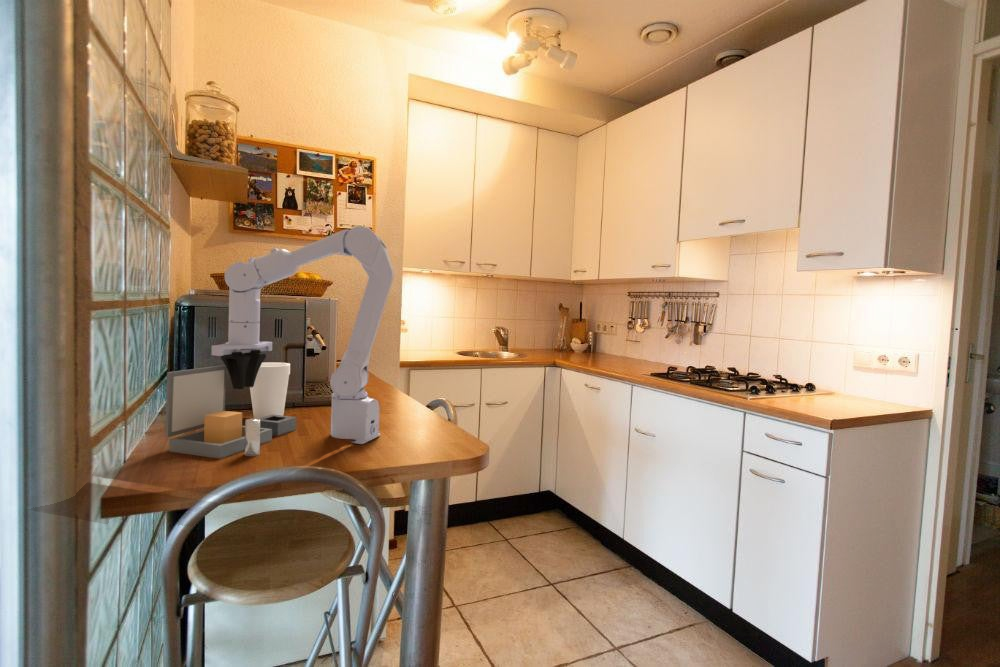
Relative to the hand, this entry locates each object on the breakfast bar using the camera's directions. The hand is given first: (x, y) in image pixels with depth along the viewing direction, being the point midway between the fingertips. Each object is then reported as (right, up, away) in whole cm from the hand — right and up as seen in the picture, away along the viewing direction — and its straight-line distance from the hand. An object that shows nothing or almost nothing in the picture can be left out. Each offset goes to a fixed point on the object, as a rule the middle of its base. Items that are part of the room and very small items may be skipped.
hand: (243, 387), depth 104 cm
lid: (-4, -1, -9) cm, 10 cm away
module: (+1, -10, -10) cm, 14 cm away
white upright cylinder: (+9, -11, -14) cm, 20 cm away
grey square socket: (+6, -10, +2) cm, 12 cm away
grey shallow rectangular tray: (+1, -11, -10) cm, 14 cm away
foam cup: (-2, -9, +16) cm, 19 cm away
